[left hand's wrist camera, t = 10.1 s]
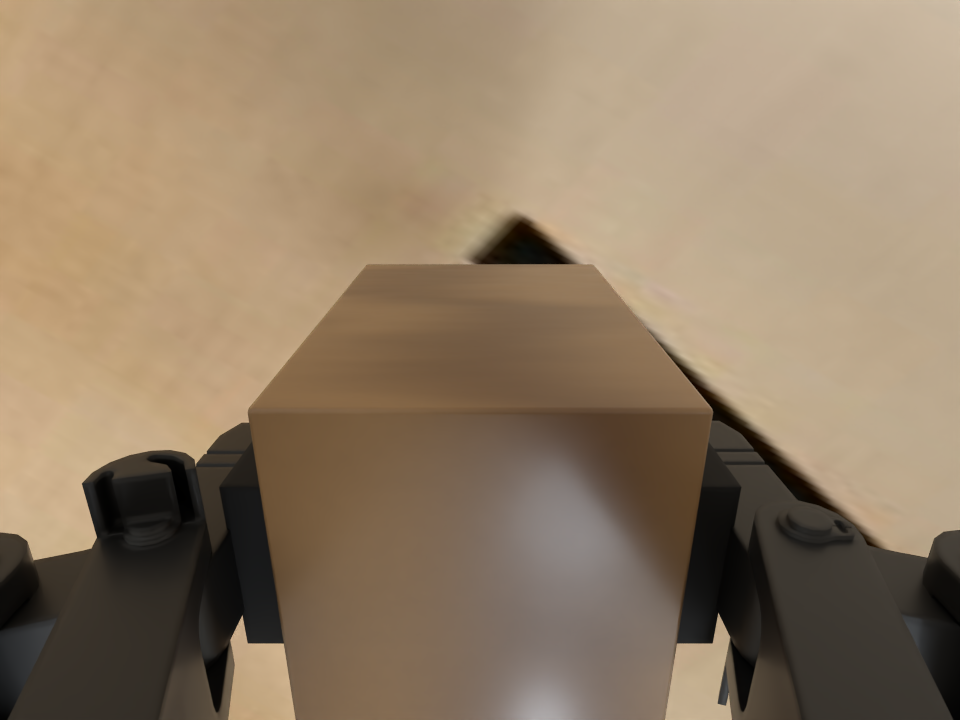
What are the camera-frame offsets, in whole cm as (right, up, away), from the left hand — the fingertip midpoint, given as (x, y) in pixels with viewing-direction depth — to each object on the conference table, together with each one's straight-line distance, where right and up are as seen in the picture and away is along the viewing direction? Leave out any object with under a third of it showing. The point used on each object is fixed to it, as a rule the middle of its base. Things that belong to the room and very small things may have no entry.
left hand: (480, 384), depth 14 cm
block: (0, 0, +1) cm, 1 cm away
